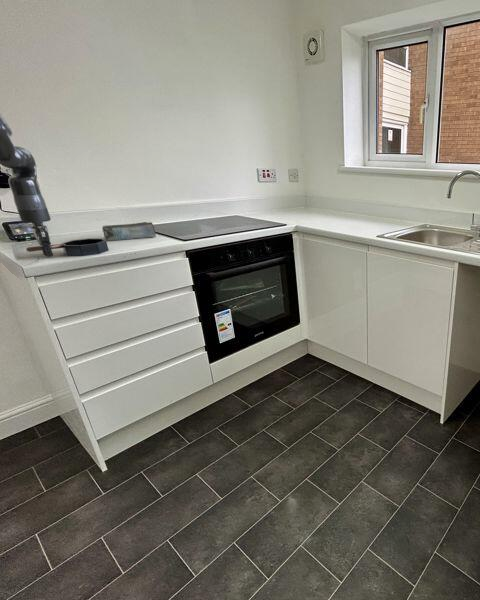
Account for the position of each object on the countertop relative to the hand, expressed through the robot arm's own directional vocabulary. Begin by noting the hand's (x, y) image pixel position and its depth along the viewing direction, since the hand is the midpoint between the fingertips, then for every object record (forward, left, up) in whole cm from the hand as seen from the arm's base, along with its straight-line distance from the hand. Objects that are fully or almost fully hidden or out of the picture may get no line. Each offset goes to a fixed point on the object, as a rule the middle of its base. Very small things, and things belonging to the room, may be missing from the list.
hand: (48, 255), depth 129 cm
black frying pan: (+6, 0, -1) cm, 6 cm away
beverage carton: (+31, +20, -1) cm, 37 cm away
